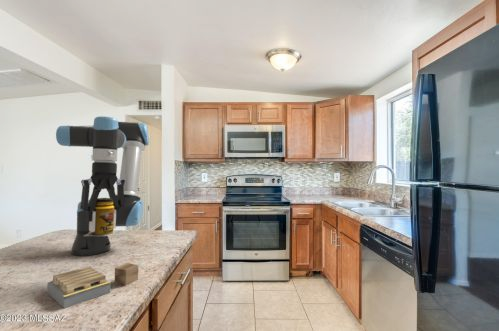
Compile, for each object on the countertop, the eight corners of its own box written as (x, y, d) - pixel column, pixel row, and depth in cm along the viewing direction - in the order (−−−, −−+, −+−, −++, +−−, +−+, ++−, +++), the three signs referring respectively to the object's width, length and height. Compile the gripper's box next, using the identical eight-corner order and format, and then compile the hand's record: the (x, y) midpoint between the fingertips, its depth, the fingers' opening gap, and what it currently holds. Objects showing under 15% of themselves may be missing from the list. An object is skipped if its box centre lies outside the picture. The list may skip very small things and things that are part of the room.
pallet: (52, 282, 79) (52, 275, 79) (89, 272, 87) (89, 266, 87) (67, 294, 72) (67, 287, 72) (105, 282, 80) (105, 275, 80)
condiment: (111, 235, 87) (112, 199, 88) (82, 236, 85) (84, 199, 86) (117, 231, 94) (118, 197, 95) (90, 232, 92) (92, 197, 93)
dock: (47, 292, 79) (47, 282, 79) (90, 279, 88) (91, 270, 88) (64, 308, 70) (64, 296, 70) (110, 292, 80) (110, 282, 80)
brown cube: (114, 283, 86) (114, 267, 86) (126, 277, 91) (127, 262, 91) (125, 285, 84) (126, 270, 84) (137, 280, 89) (138, 265, 89)
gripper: (78, 160, 81) (75, 236, 80) (136, 163, 96) (134, 226, 95) (69, 160, 86) (66, 232, 85) (126, 163, 101) (124, 224, 100)
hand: (102, 229), depth 90 cm, fingers closed on condiment, 6 cm apart
